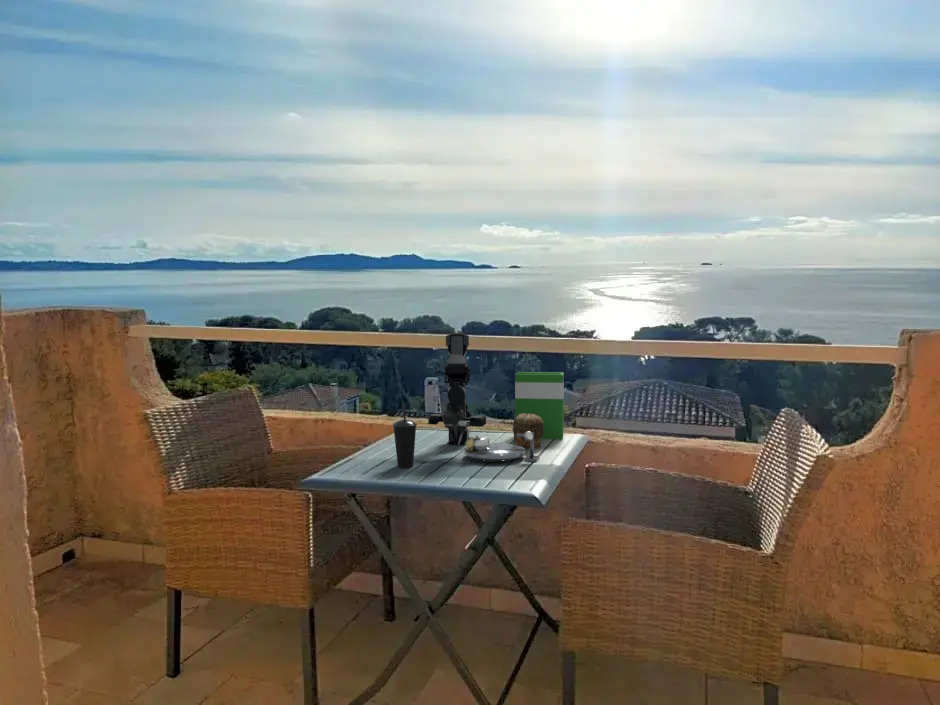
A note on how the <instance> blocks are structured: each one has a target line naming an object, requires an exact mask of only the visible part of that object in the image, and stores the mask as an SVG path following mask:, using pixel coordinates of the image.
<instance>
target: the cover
mask: <svg viewBox="0 0 940 705" xmlns="http://www.w3.org/2000/svg"><path fill="white" fill-rule="evenodd" d="M469 438H472V439H473V446H474V451H485V450H489V443H490V437H488V436H484V435H480V434H478V435H475V436H469Z"/></svg>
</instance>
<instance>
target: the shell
mask: <svg viewBox="0 0 940 705" xmlns="http://www.w3.org/2000/svg"><path fill="white" fill-rule="evenodd" d="M527 431H530V432H533V433H534V448H535V449H538V448H541V443H542V439H541V438H542V435H543V433H544V423H543V420H542V418H541V417H539V416H538V415H535V414H529V413H528V414H525V413H522V414H520V415H518V416H517V417H516V418H515V417H514V420H513V424H512V433H513V440H514V441H513V442H514V445H517V446H521V447H523V448H525V450H530V441H526V440H525V439H524V437H519V436H517V434H524V433H525V432H527Z"/></svg>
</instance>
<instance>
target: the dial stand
mask: <svg viewBox="0 0 940 705" xmlns="http://www.w3.org/2000/svg"><path fill="white" fill-rule="evenodd" d="M517 436H519V437H524V439H525V440H526V441H530V449H529V454H527V455H526V456H525V457H524V459H523V462H526V461H532V462H531V463H537V462H539V460H540V455H535V449H534V433H533V432H530V431H527V432H525V433H524V434H517Z"/></svg>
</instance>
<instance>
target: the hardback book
mask: <svg viewBox="0 0 940 705" xmlns="http://www.w3.org/2000/svg"><path fill="white" fill-rule="evenodd" d="M564 374H565V373H564V372H563V371H562V372H559V371H558V372H555V371H554V372H553V371H552V372H550V371H548V372H546V371H543V372H542V371H534V372H533V371H517V372H516V373H514V419H515V418H516V417H517V416H518V415H520V414H522V413H525V414H528V413H529V414H535V415H538V416H539V417H541V418H542V420H543V423H544V433H543V435H542V438H541V440H563V439H564V426H565V425H564V417H565V416H564V410H565V408H564V405H565V404H564V398H565V397H564V395H565V393H564V392H565V391H564V390H565V389H564V387H565V385H564V380H565V379H564V378H565V375H564Z"/></svg>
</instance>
